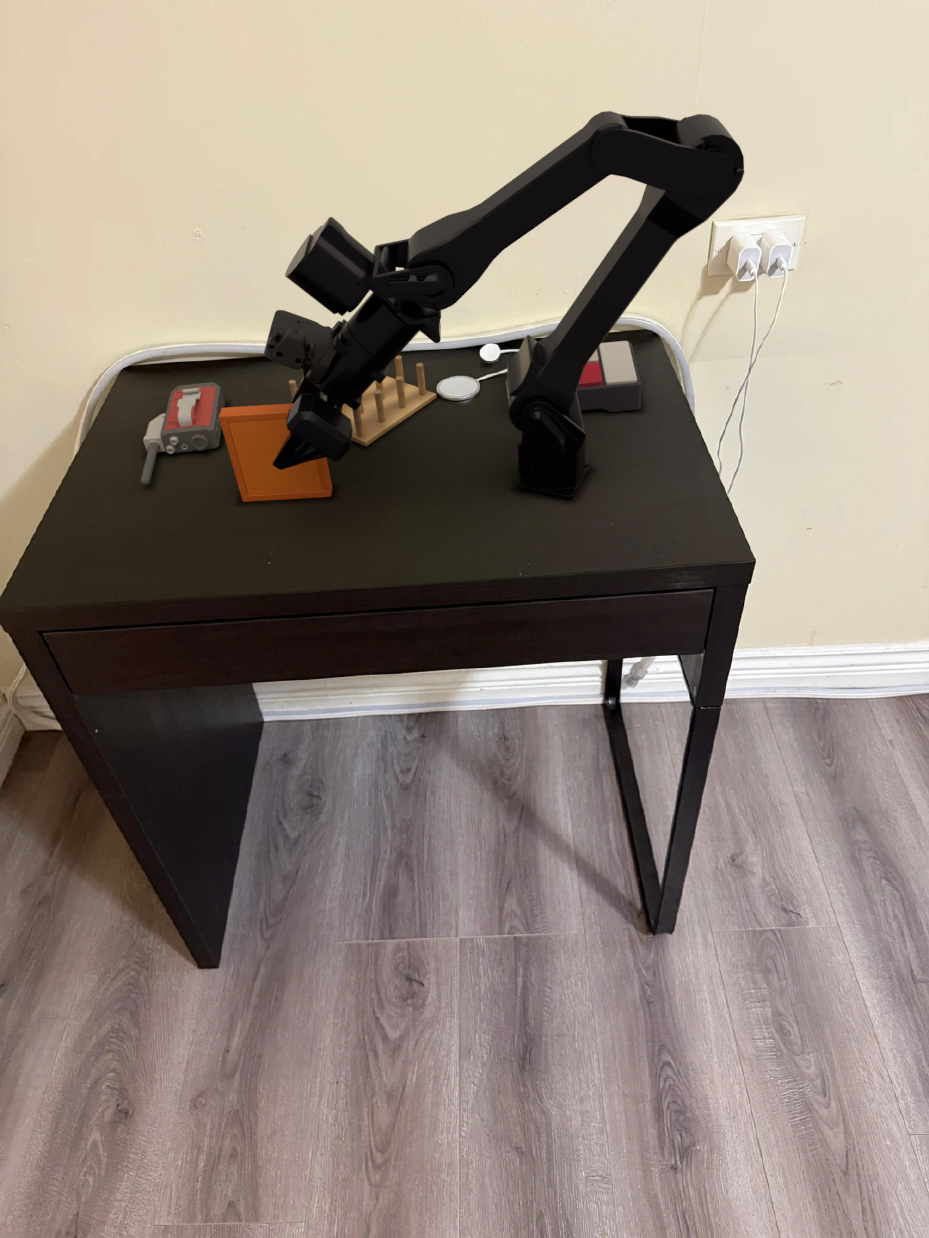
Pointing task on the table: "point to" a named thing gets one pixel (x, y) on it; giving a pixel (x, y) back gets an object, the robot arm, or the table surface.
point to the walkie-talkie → (185, 423)
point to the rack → (385, 404)
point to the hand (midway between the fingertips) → (282, 442)
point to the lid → (269, 456)
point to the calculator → (610, 379)
